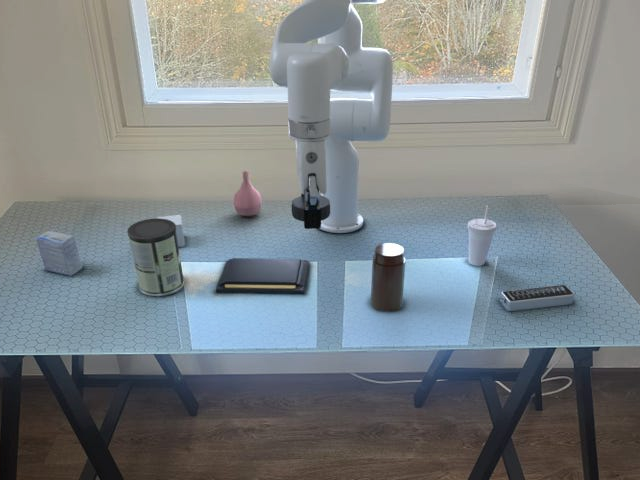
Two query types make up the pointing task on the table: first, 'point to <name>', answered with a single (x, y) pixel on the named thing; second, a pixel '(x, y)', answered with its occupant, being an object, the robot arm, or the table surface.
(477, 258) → the smoothie
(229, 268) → the wallet
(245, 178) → the pink teardrop shaped piece
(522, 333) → the table surface
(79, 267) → the medicine box
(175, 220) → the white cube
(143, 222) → the coffee can
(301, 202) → the lid
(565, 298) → the multiport hub
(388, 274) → the jar
